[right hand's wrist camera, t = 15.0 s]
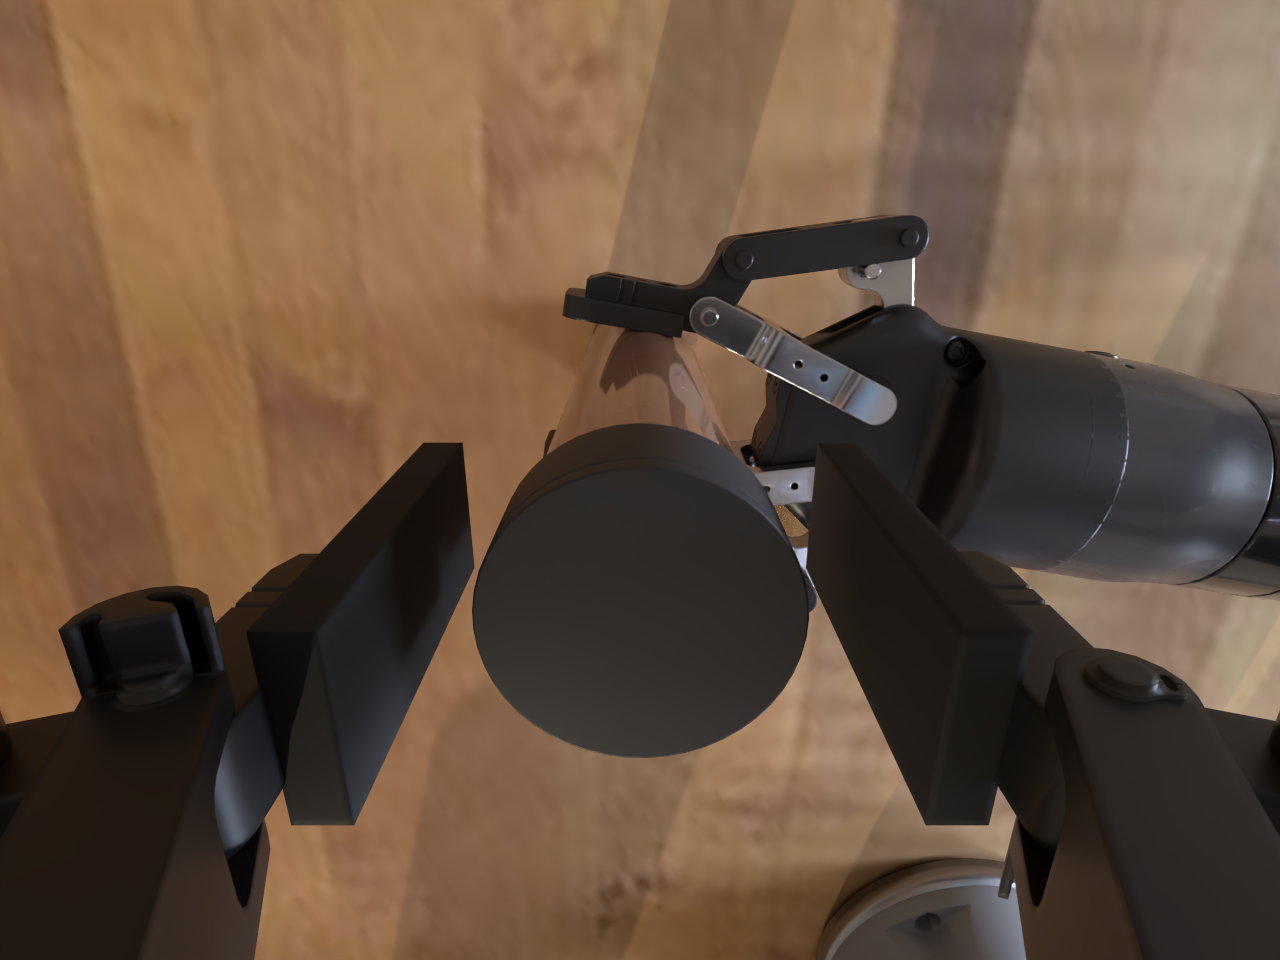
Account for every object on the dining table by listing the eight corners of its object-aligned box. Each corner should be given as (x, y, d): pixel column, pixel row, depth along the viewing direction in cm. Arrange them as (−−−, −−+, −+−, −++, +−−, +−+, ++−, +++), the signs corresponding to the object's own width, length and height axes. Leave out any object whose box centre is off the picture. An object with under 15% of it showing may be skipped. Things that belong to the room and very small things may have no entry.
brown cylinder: (574, 323, 28) (453, 524, 10) (673, 287, 28) (736, 432, 10) (609, 418, 30) (561, 745, 11) (704, 386, 29) (811, 675, 11)
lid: (623, 717, 13) (620, 807, 11) (441, 539, 12) (400, 606, 10) (836, 573, 12) (874, 644, 10) (661, 360, 11) (665, 393, 9)
